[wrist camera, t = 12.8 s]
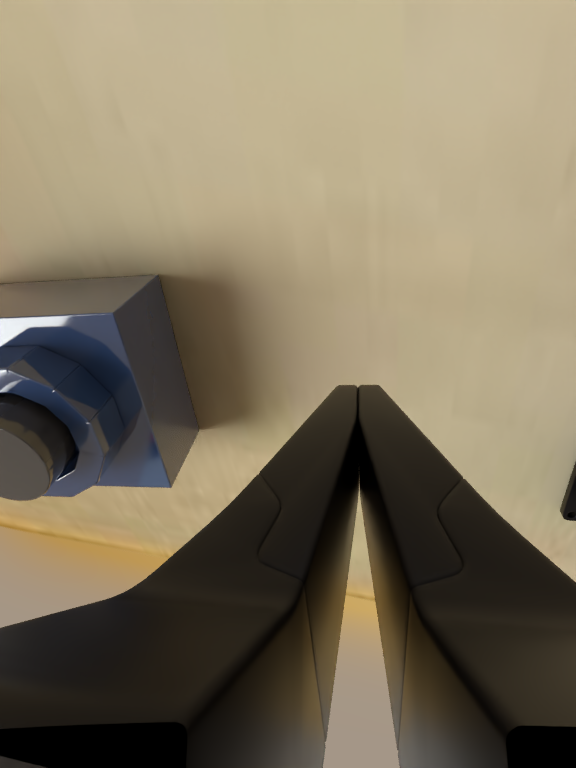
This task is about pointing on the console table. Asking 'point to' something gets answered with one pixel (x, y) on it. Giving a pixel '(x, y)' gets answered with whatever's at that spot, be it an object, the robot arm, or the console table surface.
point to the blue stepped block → (101, 376)
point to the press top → (31, 448)
